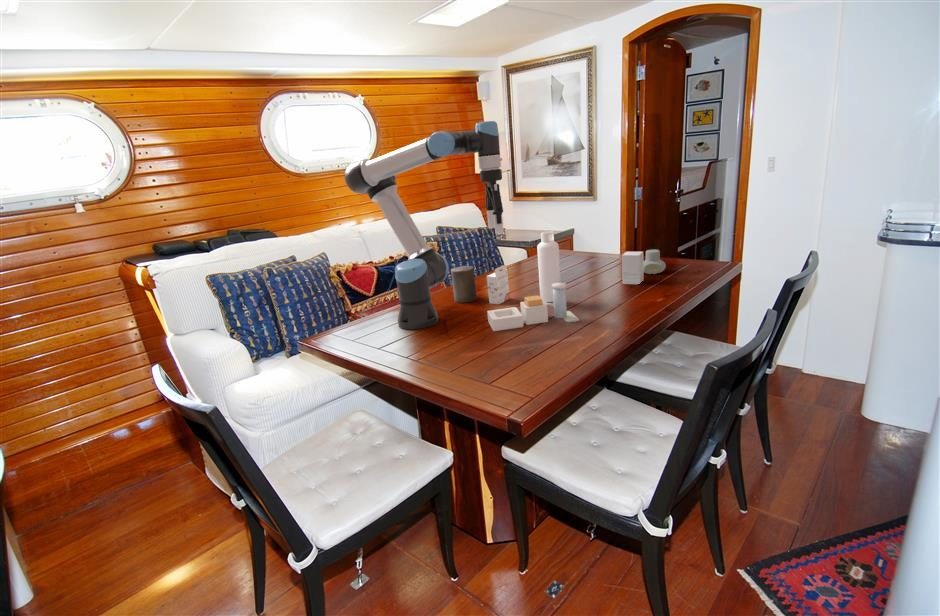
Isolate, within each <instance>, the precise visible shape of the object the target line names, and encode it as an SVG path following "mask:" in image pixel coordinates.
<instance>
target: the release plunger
mask: <svg viewBox="0 0 940 616" xmlns="http://www.w3.org/2000/svg"><path fill="white" fill-rule="evenodd" d="M523 298H524V301H525V305H526V306H527V307H531V306H538V305H542V298H540V295H531V296H525V297H523Z"/></svg>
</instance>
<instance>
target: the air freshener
mask: <svg viewBox="0 0 940 616" xmlns="http://www.w3.org/2000/svg"><path fill="white" fill-rule="evenodd" d="M643 261H644V273H645V274H648V275H651V274H653V275H657V273H658V274H660V273H662V272H664V271H665V270H666V268H667V267H666V263H665V262H664V260H662V259H661V251H660V250H659V249H647V250H646V251H645V260H644V259H643Z"/></svg>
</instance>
